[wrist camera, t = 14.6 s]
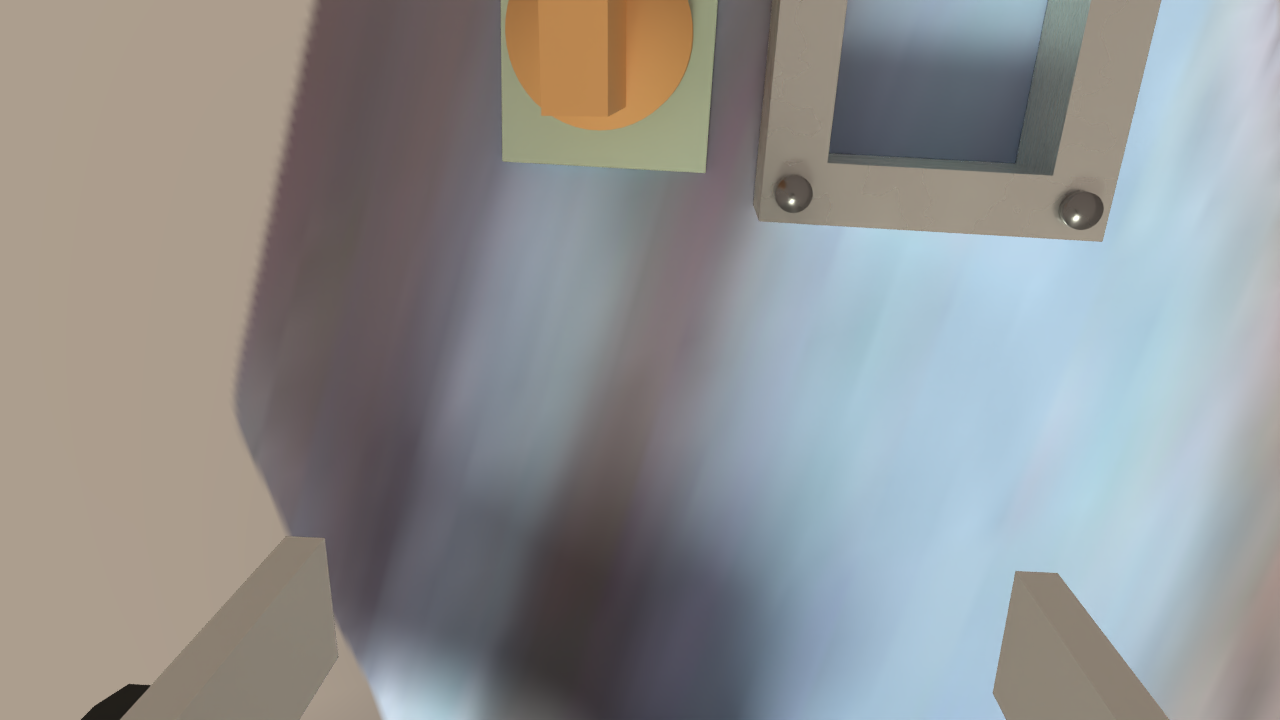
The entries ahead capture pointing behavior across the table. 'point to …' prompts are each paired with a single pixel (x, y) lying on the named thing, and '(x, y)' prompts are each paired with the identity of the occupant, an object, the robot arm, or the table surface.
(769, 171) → the housing
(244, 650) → the robot arm
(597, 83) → the orange stamp
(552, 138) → the mat
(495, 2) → the table surface
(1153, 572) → the table surface
